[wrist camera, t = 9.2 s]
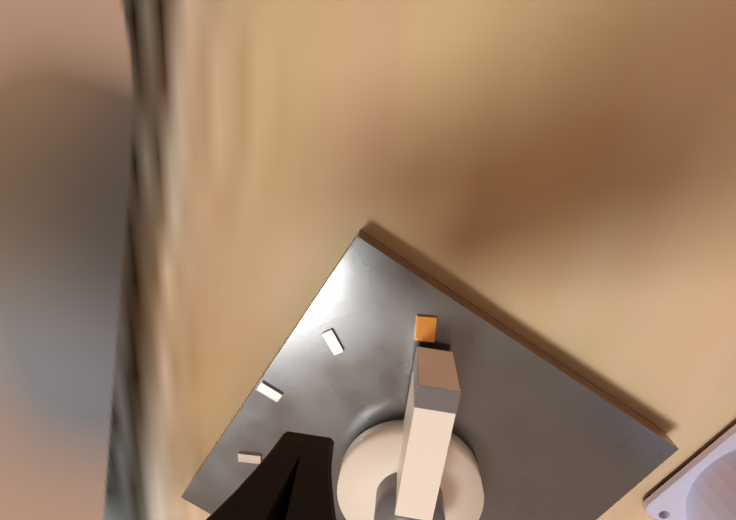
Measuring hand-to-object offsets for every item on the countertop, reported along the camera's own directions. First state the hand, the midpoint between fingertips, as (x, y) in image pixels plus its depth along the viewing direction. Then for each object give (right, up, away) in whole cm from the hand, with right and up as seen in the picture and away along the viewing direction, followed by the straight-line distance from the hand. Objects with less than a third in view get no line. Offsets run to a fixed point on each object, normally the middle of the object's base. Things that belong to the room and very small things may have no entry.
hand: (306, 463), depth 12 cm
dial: (+4, -4, +9) cm, 11 cm away
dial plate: (+4, -5, +11) cm, 13 cm away
